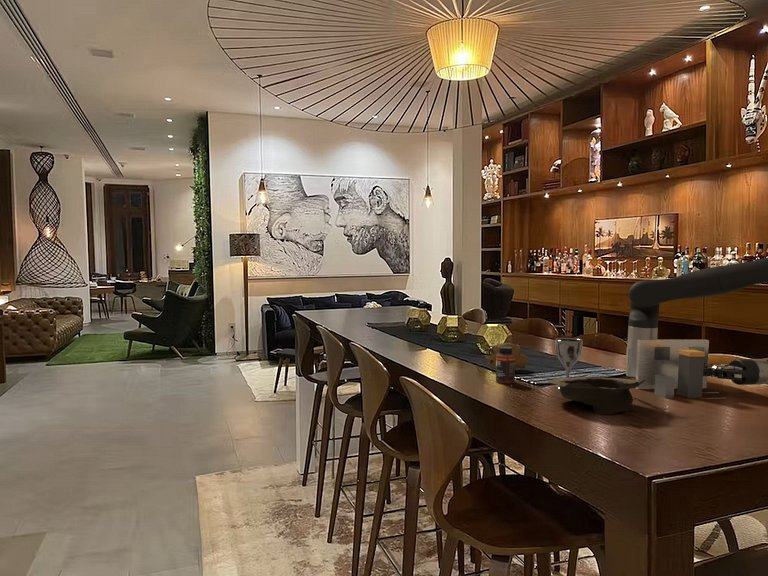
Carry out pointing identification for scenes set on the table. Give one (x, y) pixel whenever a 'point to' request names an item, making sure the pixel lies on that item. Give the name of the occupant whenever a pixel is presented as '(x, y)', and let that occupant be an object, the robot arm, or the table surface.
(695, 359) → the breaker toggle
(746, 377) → the robot arm
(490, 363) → the wooden carving
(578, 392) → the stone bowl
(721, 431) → the table surface
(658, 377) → the white upright board
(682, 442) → the table surface
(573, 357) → the wine glass
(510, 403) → the table surface
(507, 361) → the supplement bottle
